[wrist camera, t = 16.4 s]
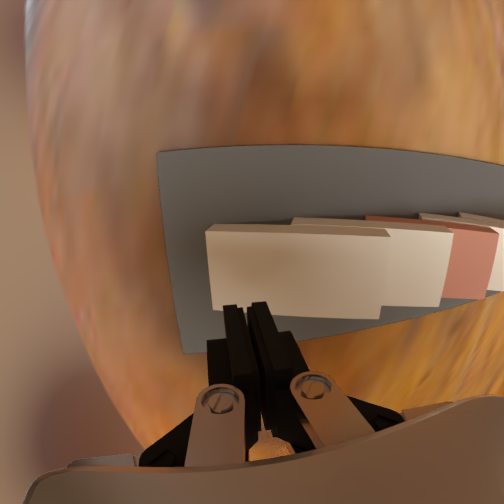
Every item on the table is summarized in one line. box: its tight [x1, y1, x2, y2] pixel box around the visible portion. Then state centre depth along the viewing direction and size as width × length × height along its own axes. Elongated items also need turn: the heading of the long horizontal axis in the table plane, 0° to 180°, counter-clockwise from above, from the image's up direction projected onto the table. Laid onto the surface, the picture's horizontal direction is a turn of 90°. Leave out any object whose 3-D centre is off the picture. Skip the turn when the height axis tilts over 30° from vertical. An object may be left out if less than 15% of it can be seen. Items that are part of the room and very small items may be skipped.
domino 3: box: [365, 215, 499, 300], centre depth 18 cm, size 5×2×10 cm
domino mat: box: [157, 145, 504, 354], centre depth 21 cm, size 14×34×1 cm, turn 92°
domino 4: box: [418, 212, 504, 292], centre depth 18 cm, size 5×2×10 cm
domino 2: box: [291, 217, 454, 307], centre depth 18 cm, size 5×2×10 cm
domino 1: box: [205, 224, 391, 319], centre depth 17 cm, size 5×2×10 cm
